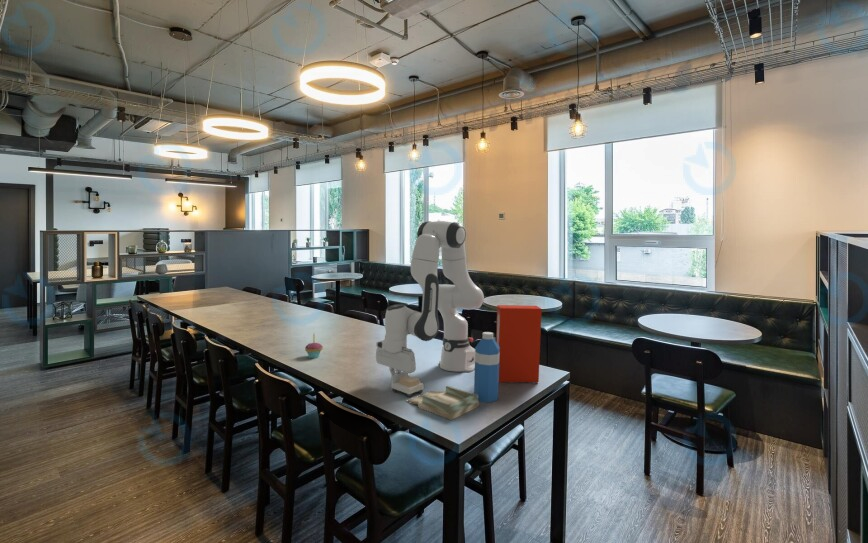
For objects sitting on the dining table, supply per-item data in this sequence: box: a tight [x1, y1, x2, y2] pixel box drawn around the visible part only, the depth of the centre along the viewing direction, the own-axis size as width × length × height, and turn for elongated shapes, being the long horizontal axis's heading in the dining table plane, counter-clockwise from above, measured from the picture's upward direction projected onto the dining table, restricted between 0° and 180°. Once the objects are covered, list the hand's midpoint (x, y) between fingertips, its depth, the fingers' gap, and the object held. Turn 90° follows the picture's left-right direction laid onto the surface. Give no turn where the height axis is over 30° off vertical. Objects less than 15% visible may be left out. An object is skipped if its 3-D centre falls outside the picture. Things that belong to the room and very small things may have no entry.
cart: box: [390, 371, 425, 398], centre depth 162 cm, size 8×10×6 cm
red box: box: [495, 304, 543, 382], centre depth 177 cm, size 8×17×32 cm, turn 91°
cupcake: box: [304, 333, 324, 359], centre depth 207 cm, size 9×8×12 cm
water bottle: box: [473, 331, 500, 403], centre depth 157 cm, size 9×9×25 cm
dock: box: [407, 385, 480, 421], centre depth 151 cm, size 16×23×5 cm
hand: (395, 378), depth 166 cm, fingers closed
